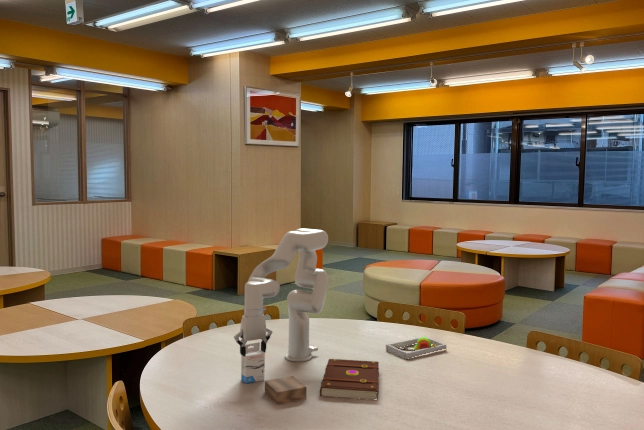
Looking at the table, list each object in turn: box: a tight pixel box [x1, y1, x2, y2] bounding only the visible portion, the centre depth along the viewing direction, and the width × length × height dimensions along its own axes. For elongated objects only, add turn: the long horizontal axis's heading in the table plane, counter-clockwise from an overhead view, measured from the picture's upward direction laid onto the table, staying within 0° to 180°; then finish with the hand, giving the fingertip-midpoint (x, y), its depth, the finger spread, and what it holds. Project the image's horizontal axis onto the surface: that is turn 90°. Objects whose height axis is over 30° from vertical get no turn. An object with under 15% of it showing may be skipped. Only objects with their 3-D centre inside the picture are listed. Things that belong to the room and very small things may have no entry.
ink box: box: [240, 342, 266, 384], centre depth 217 cm, size 8×5×15 cm, turn 123°
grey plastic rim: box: [385, 336, 447, 360], centre depth 259 cm, size 26×15×3 cm, turn 123°
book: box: [319, 358, 380, 400], centre depth 217 cm, size 23×32×5 cm
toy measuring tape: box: [396, 336, 436, 351], centre depth 259 cm, size 6×19×7 cm, turn 78°
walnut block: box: [264, 375, 307, 405], centre depth 203 cm, size 12×12×5 cm
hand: (253, 353), depth 217 cm, fingers closed on ink box, 8 cm apart
